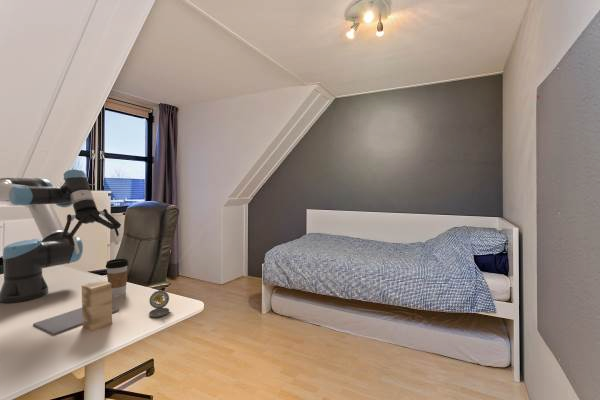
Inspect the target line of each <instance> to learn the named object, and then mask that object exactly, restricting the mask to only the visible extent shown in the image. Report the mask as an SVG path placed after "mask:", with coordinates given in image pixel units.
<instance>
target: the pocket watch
mask: <svg viewBox="0 0 600 400" xmlns="http://www.w3.org/2000/svg"><path fill="white" fill-rule="evenodd" d="M162 288H164V285H163V284H160V283H159V284H156V285H155V289H157V290H155V291H154V292H153V293H152V294H151V296H150V297H149V305H150V306H151V307H152V308H154V309H152V310H150V311H149V312H148V315H149V317H152V318H160V317H163V316H166V315H168V313H170V309H169V308H168V307H166V306H167V305H168V303H169V301H170V296H169V293H168V292H166V291H164V290H162Z"/></svg>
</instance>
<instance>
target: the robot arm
mask: <svg viewBox="0 0 600 400" xmlns="http://www.w3.org/2000/svg"><path fill="white" fill-rule="evenodd" d="M63 180H64V183H62V186H53V183H51V181H50V180H48V179H47V178H46V179H45V178H39V177H35V178H26V177H23V178H21V177H2V178H0V202H10V203H11V204H12V205H14V206H24V207H25V208H28V209H29V211H30V214H31V215H32V218H33V220H34V222H35V225H36V226H37V228H38V231H39V232H40V235H41V237H42V239H40V238H33V239H24V240H19V241H16V242H13V243H9V244H6V246H4V248H3V249H2V251H3V252H2V261H3V262H2V263H3V265H2V266H3V283H2V286H1V288H0V303H2V304H10V303H11V304H13V303H20V302H25V301H29V300H33V299H37V298H40V297H43V296H45V295H47V294H48V293H49V285H48V284H47V281H46V280H45V278H44V276H43V269H45V268H51V267H55V266H61V265H62V266H63V265H69V264H72V263H76V262H78V261H79V260H81V257H82V255H83V251H84V246H83V241H82V239H81V238H80V237H77V236H75V234H76V233H77V231H78V230H79V228H81V226H82V225H83V224H86V225H87V224H94V223H95V222H96V223H99V224H101V225H102V226H104V227H106V228H108V229H110V230H111V235H112V238H113V241H114V244H115V246H117V245H119V243H120V241H119V239H118V237H119V234H120V233H119V230H118V229H120V228H121V226H122V225H121V223H120V222H119V221H118V220H117V219H116V218H114V217H113V216H112V215H111V214H110V213H109V211H108V210H107V208H103V210H98V208H97V204H96V202H95V199H94V196H93V193H92V191H91V187H90V184H89V180H88V177H87V176H86V173H85V172H84V171H83V170H82V169H79V168H75V169H74V168H72V169H68V170H66V171H65V172H64V173H63ZM53 205H56V207H57V206H58V207H61V208H69V207H71V206H72V207H73V211H74V213H75V214H67V215H66V223H65V226H63V224H62V222H61V220H60V218H59V216H58V213H57V212H56V210H55V208H54V206H53ZM100 215H101V216H103V217H105V219H104V218H102V217H101V216H100ZM74 219H76V220H77V222H76V225H75V226H74V227H73V229H72V230H71V231H69V230H70V226H71V224H72V222H73V221H74Z"/></svg>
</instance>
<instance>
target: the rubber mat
mask: <svg viewBox="0 0 600 400" xmlns="http://www.w3.org/2000/svg"><path fill="white" fill-rule="evenodd" d="M119 311H120V309H119V308H116V307H113V306H112V314H115V313H116V312H119ZM32 326H34V327H36V328H39V329H40V330H41V331H42V330H43V331H44V332H46V333H48V334H50V335H52V336H56V335H58V334H61V333H64V332H66V331H69V330H72V329H74V328H77V327H80V326H83V318H82V307H79V308H77V309H73V310H71V311H67V312H64V313H60V314H58V315H55V316H52V317H49V318H46V319H43V320H39V321H36V322H33V323H32Z"/></svg>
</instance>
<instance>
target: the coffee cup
mask: <svg viewBox="0 0 600 400" xmlns="http://www.w3.org/2000/svg"><path fill="white" fill-rule="evenodd" d="M128 261H129V260H128V258H115V259H110V260H107V261H106V264H105V269H106V277H107V282H109V283H111V291H112V297H118V296H123V295H125V294H126V292H127V284H128V272H129V271H128V266H129V265H130V264H129V262H128Z"/></svg>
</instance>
